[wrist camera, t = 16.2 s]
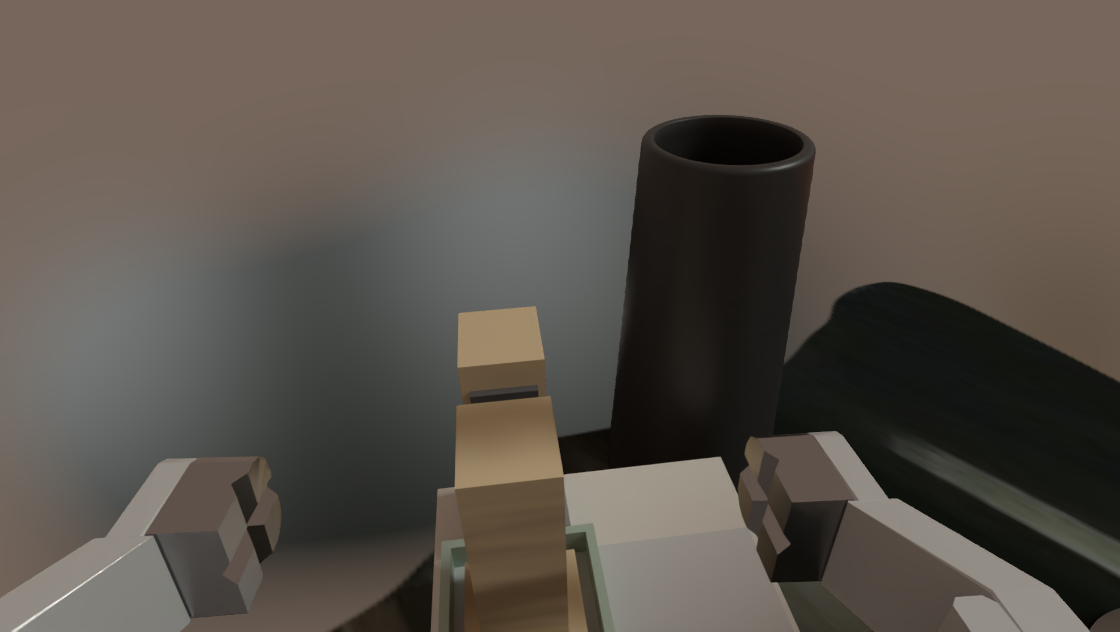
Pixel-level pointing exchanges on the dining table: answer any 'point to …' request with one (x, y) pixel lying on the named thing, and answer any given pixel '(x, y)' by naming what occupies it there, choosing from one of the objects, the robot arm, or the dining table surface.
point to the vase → (709, 289)
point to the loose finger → (514, 520)
